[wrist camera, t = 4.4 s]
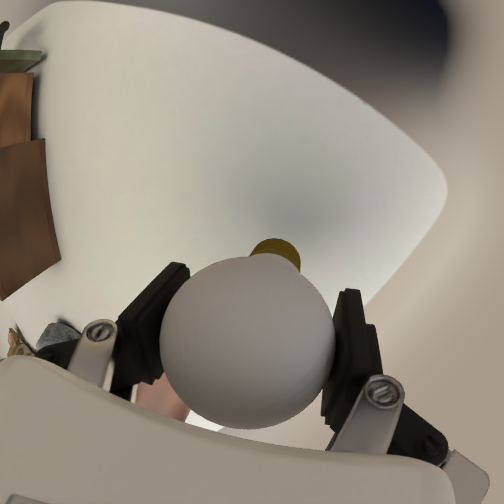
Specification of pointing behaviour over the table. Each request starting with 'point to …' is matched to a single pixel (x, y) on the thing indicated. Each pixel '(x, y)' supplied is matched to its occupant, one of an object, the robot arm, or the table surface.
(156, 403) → the beverage can
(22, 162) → the cabinet
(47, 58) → the table surface
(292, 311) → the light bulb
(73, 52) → the table surface
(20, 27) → the table surface
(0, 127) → the drawer
